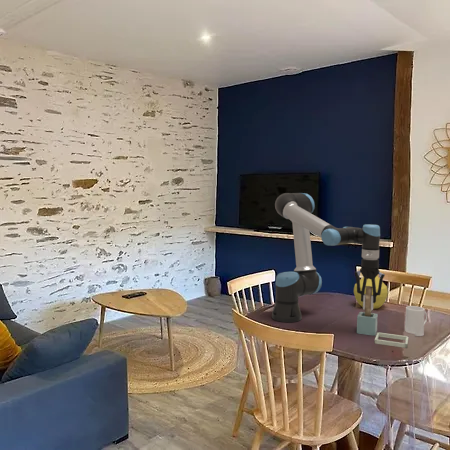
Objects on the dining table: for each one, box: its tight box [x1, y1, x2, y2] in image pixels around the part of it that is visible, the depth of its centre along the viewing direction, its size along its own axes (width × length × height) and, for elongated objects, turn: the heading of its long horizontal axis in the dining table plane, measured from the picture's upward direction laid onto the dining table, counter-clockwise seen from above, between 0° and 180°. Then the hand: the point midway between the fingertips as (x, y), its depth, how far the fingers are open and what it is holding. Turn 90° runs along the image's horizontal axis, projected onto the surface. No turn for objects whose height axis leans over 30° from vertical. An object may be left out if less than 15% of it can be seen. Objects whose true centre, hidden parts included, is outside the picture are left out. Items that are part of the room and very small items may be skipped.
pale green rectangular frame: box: [374, 331, 409, 349], centre depth 200 cm, size 13×11×3 cm
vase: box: [353, 275, 389, 310], centre depth 260 cm, size 18×18×30 cm
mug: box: [404, 305, 428, 337], centre depth 214 cm, size 12×8×12 cm
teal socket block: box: [356, 311, 379, 337], centre depth 212 cm, size 8×8×9 cm
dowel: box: [364, 286, 372, 317], centre depth 211 cm, size 3×3×20 cm
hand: (368, 309), depth 211 cm, fingers closed on dowel, 3 cm apart
